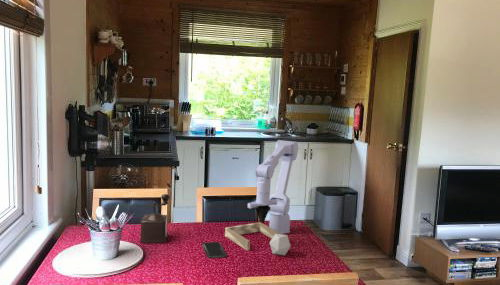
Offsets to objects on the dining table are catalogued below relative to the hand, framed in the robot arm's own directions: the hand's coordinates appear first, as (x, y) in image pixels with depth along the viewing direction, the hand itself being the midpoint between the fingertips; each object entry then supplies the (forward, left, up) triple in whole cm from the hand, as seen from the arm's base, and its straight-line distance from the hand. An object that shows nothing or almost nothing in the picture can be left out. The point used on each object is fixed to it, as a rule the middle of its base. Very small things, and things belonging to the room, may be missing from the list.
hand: (261, 222), depth 179 cm
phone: (+23, -1, -10) cm, 25 cm away
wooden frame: (+1, -4, -9) cm, 10 cm away
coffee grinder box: (+39, -26, -10) cm, 47 cm away
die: (0, +14, -10) cm, 17 cm away
